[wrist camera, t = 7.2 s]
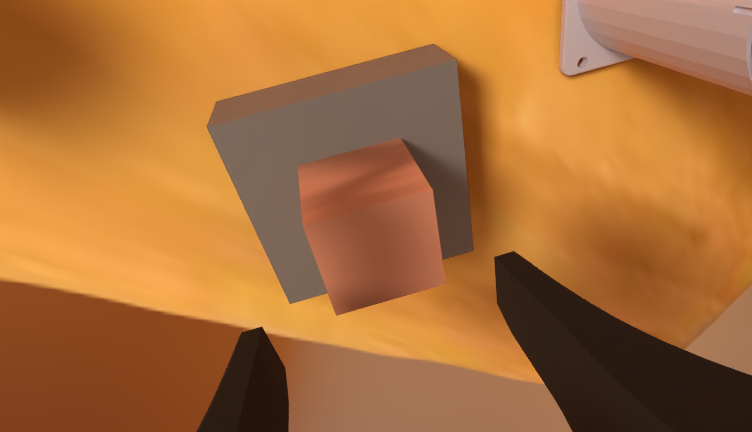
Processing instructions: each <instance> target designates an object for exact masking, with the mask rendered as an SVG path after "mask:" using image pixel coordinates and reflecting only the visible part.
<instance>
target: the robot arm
mask: <svg viewBox="0 0 752 432" xmlns="http://www.w3.org/2000/svg"><path fill="white" fill-rule="evenodd" d="M582 57H583V61H582V63H581V64H580V65H579V66H578V65H577V64H578V61H579V60H580V59H581V58H582ZM633 58H639V59H642V60H645V61H648V62H651V63H654V64H657V65H660V66H663V67H666V68H669V69H672V70H675V71H678V72H681V73H684V74H687V75H690V76H693V77H696V78H699V79H702V80H705V81H708V82H711V83H714V84H717V85H720V86H723V87H726V88H729V89H732V90H735V91H738V92H741V93H744V94H747V95H750V96H752V0H562V18H561V38H560V58H559V69H560V71H561V73H563V74H565V75H567V76H571V75H575V74H579V73H582V72H586V71H590V70H593V69H597V68H601V67H604V66H608V65H611V64H615V63H619V62H622V61H626V60H630V59H633ZM494 258H495V275H496V292H497V304H498V306H499V308H500V310H501V312H502V314H503V316H504V318H505V320H506V322H507V324H508V326H509V328H510V330H511V332H512V334H513V336H514V337H515V339H516V340H517V342H518V343H519V345H520V346H521V348H522V350H523V351H524V353H525V354H526V356H527V357H528V359H529V360H530V362H531V363H532V365H533V366H534V368H535V370H536V371H537V373H538V374H539V376H540V377H541V379H542V380H543V382H544V383H545V385H546V386H547V388H548V389H549V391H550V393H551V394H552V395H553V397H554V399H555V400H556V402H557V404H558V405H559V407H560V409H561V411H562V412H563V414H564V416H565V418H566V420H567V422H568V424H569V426H570V428H571V429H572V431H573V432H752V375H749V374H746V373H742V372H740V371H737V370H735V369H732V368H729V367H726V366H723V365H721V364H718V363H715V362H712V361H710V360H707V359H705V358H702V357H699V356H697V355H695V354H693V353H690V352H688V351H685V350H683V349H681V348H678V347H676V346H673V345H671V344H669V343H666V342H664V341H662V340H659V339H657V338H655V337H653V336H651V335H649V334H647V333H645V332H643V331H641V330H639V329H637V328H635V327H633V326H631V325H629V324H627V323H625V322H623V321H621V320H619V319H617V318H616V317H614V316H612V315H610V314H608V313H607V312H605V311H603V310H601V309H600V308H598V307H596V306H595V305H593V304H591V303H590V302H588V301H586V300H585V299H583V298H581V297H580V296H578V295H577V294H575V293H574V292H572V291H571V290H569V289H567V288H566V287H564V286H563V285H561V284H560V283H558V282H557V281H555V280H554V279H552V278H551V277H550V276H548V275H547V274H545V273H544V272H542V271H541V270H540V269H538V268H537V267H535V266H534V265H533V264H531V263H530V262H528V261H527V260H526V259H524V258H523V257H521V256H520V255H519V254H517V253H516V252H514V251H513V252H510V253H506V254H503V255H500V256H496V257H494ZM288 415H289V401H288V389H287V380H286V372H285V367H284V365H283V363H282V361H281V360H280V358H279V356H278V354H277V352H276V351H275V349H274V347H273V346H272V344H271V342H270V340H269V338H268V336H267V335H266V333H265V331H264V329H263V328H262V327H259V328H256V329H252V330H249V331H246V332H242V333H241V335H240V337H239V339H238V342H237V344H236V346H235V349H234V352H233V354H232V356H231V359H230V361H229V364H228V366H227V368H226V370H225V373H224V375H223V378H222V380H221V382H220V384H219V386H218V389H217V391H216V393H215V395H214V397H213V400H212V402H211V404H210V406H209V408H208V410H207V412H206V414H205V416H204V418H203V420H202V422H201V424H200V426H199V428H198V430H197V432H288V422H289V416H288Z"/></svg>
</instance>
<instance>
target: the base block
mask: <svg viewBox="0 0 752 432" xmlns="http://www.w3.org/2000/svg"><path fill="white" fill-rule="evenodd" d="M207 129H208V131H209V133H210V135H211V137H212V139H213V142H214V144H215V146H216V148H217V150H218V152H219V154H220V156H221V159H222V161H223V163H224V165H225V167H226V169H227V171H228V173H229V176H230V178H231V180H232V182H233V184H234V186H235V188H236V190H237V193H238V195H239V197H240V199H241V201H242V203H243V205H244V207H245V209H246V212H247V214H248V216H249V218H250V220H251V222H252V224H253V226H254V229H255V231H256V233H257V235H258V237H259V239H260V241H261V243H262V246H263V248H264V250H265V252H266V254H267V256H268V258H269V260H270V263H271V265H272V267H273V269H274V271H275V273H276V275H277V277H278V280H279V282H280V284H281V286H282V288H283V290H284V292H285V294H286V297H287V299H288V301H289V303H290V304H292V303H295V302H299V301H302V300H306V299H309V298H312V297H316V296H319V295H323V294H326V293H328V292H327V289H326V287H325V284H324V281H323V279H322V276H321V273H320V271H319V268H318V265H317V263H316V260H315V257H314V255H313V252H312V249H311V247H310V244H309V241H308V239H307V236H306V233H305V231H304V228H303V223H302V212H301V201H300V189H299V178H298V167H297V165H301V164H305V163H309V162H312V161H316V160H320V159H323V158H327V157H331V156H334V155H338V154H342V153H346V152H349V151H353V150H357V149H360V148H364V147H368V146H371V145H375V144H379V143H383V142H386V141H390V140H394V139H397V138H401V139H402V141H403V143H404V144H405V146H406V147H407V149H408V151H409V152H410V154H411V155H412V157H413V159H414V160H415V162H416V164H417V165H418V167H419V168H420V170H421V172H422V173H423V175H424V177H425V178H426V180H427V181H428V183H429V185H430V186H431V188H432V189H433V196H434V203H435V210H436V217H437V225H438V232H439V239H440V246H441V253H442V260H443V259H446V258H449V257H453V256H456V255H460V254H463V253H467V252H470V251H473V238H472V227H471V216H470V204H469V193H468V182H467V170H466V159H465V148H464V136H463V125H462V114H461V103H460V91H459V80H458V69H457V59H455V58H454V57H452V56H451V55H449V54H448V53H446V52H445V51H443V50H442V49H440V48H439V47H437V46H436V45H434V44H431V45H427V46H423V47H419V48H416V49H412V50H408V51H405V52H401V53H397V54H393V55H390V56H386V57H382V58H378V59H375V60H371V61H367V62H363V63H360V64H356V65H352V66H348V67H345V68H341V69H337V70H333V71H330V72H326V73H322V74H319V75H315V76H311V77H307V78H304V79H300V80H296V81H292V82H289V83H285V84H281V85H277V86H274V87H270V88H266V89H262V90H259V91H255V92H251V93H248V94H244V95H240V96H236V97H233V98H229V99H225V100H221V101H218V102H216V104H215V106H214V109H213V112H212V114H211V117H210V120H209V122H208V125H207Z"/></svg>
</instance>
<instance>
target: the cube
mask: <svg viewBox="0 0 752 432" xmlns="http://www.w3.org/2000/svg"><path fill="white" fill-rule="evenodd" d="M297 167H298V178H299V189H300V201H301V212H302V223H303V228H304V231H305V233H306V236H307V239H308V241H309V244H310V247H311V249H312V252H313V255H314V257H315V260H316V263H317V265H318V268H319V271H320V273H321V276H322V279H323V281H324V284H325V287H326V289H327V292H328V295H329V297H330V300H331V303H332V305H333V308H334V311H335V313H336V316H337V315H340V314H344V313H347V312H351V311H354V310H357V309H361V308H364V307H368V306H371V305H375V304H378V303H382V302H385V301H389V300H392V299H395V298H399V297H402V296H406V295H409V294H413V293H416V292H420V291H423V290H427V289H430V288H433V287H437V286H440V285H444V284H446V282H445V275H444V268H443V261H442V253H441V246H440V239H439V232H438V225H437V217H436V210H435V203H434V196H433V189H432V188H431V186H430V185H429V183H428V181H427V180H426V178H425V177H424V175H423V173H422V172H421V170H420V168H419V167H418V165H417V164H416V162H415V160H414V159H413V157H412V155H411V154H410V152H409V151H408V149H407V147H406V146H405V144H404V143H403V141H402V139H401V138H397V139H394V140H390V141H386V142H383V143H379V144H375V145H371V146H368V147H364V148H360V149H357V150H353V151H349V152H346V153H342V154H338V155H334V156H331V157H327V158H323V159H320V160H316V161H312V162H309V163H305V164H301V165H297Z"/></svg>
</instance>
